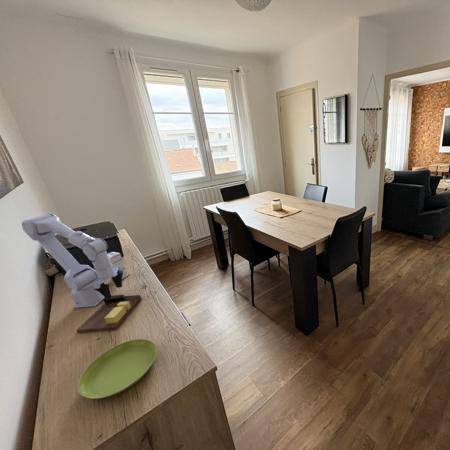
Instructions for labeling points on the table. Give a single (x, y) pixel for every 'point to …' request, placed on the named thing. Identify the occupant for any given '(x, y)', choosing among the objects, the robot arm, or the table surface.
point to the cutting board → (98, 318)
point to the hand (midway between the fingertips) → (114, 292)
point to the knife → (121, 298)
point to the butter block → (115, 315)
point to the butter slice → (124, 305)
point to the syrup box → (118, 262)
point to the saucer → (117, 369)
